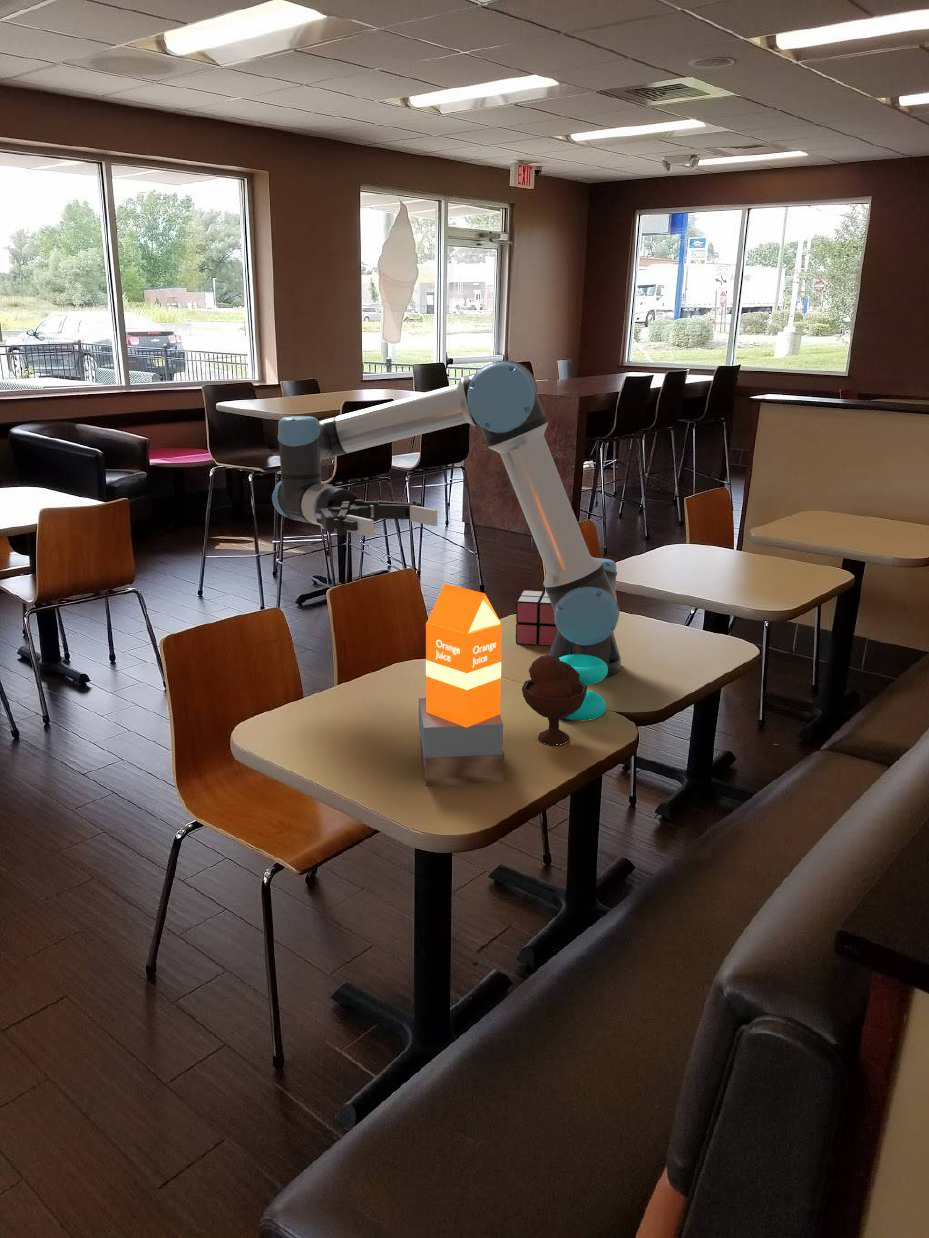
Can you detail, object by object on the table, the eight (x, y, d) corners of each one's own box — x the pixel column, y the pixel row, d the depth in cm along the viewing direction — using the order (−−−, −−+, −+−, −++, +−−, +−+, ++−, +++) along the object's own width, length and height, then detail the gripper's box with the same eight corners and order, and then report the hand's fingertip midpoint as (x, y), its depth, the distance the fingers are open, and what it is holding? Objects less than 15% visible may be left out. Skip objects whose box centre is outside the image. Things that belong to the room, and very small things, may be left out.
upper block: (491, 723, 153) (492, 695, 152) (502, 754, 142) (503, 724, 140) (419, 726, 152) (418, 698, 151) (424, 758, 141) (423, 727, 139)
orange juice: (466, 727, 139) (467, 598, 133) (425, 712, 145) (424, 587, 139) (501, 713, 144) (503, 588, 139) (460, 699, 150) (461, 578, 145)
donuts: (540, 658, 168) (582, 648, 173) (539, 710, 171) (580, 698, 176) (578, 674, 160) (620, 663, 166) (576, 728, 163) (617, 715, 169)
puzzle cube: (560, 647, 206) (561, 603, 203) (515, 644, 208) (516, 601, 205) (564, 634, 215) (566, 592, 213) (521, 631, 217) (522, 590, 215)
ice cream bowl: (569, 757, 151) (572, 670, 147) (509, 742, 157) (510, 658, 153) (596, 735, 160) (599, 652, 156) (538, 721, 166) (540, 641, 161)
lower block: (492, 751, 155) (492, 724, 153) (503, 784, 143) (504, 754, 142) (420, 755, 153) (420, 727, 152) (426, 788, 142) (425, 758, 140)
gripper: (386, 519, 179) (460, 535, 164) (273, 537, 163) (343, 556, 148) (385, 480, 177) (460, 492, 162) (270, 494, 161) (341, 509, 146)
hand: (404, 523), depth 155 cm, fingers open, 13 cm apart
